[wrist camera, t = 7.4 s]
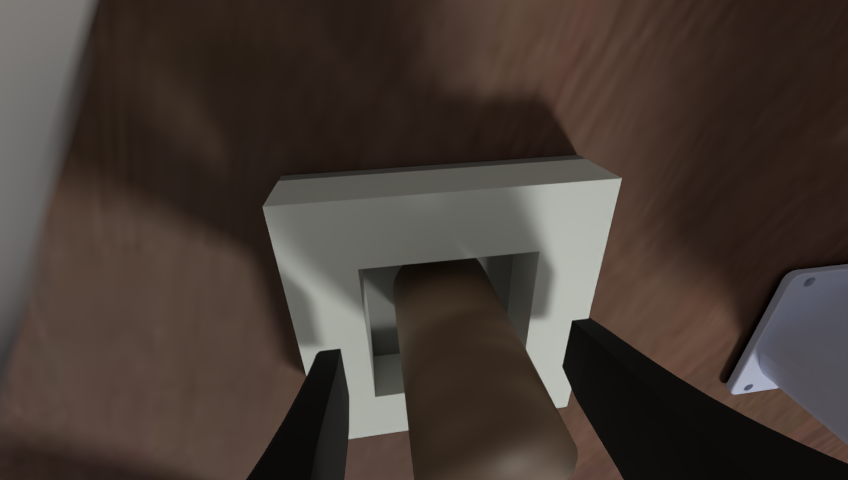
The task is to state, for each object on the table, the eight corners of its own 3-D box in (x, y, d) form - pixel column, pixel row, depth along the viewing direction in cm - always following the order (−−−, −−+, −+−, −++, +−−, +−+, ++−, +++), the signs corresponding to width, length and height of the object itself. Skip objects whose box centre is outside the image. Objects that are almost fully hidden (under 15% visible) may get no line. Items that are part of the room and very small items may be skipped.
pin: (492, 246, 14) (598, 415, 7) (478, 322, 15) (555, 511, 9) (394, 246, 13) (421, 430, 7) (391, 326, 15) (410, 530, 9)
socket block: (578, 154, 13) (621, 178, 11) (542, 361, 18) (566, 406, 15) (281, 175, 12) (262, 206, 10) (329, 390, 17) (323, 442, 14)
